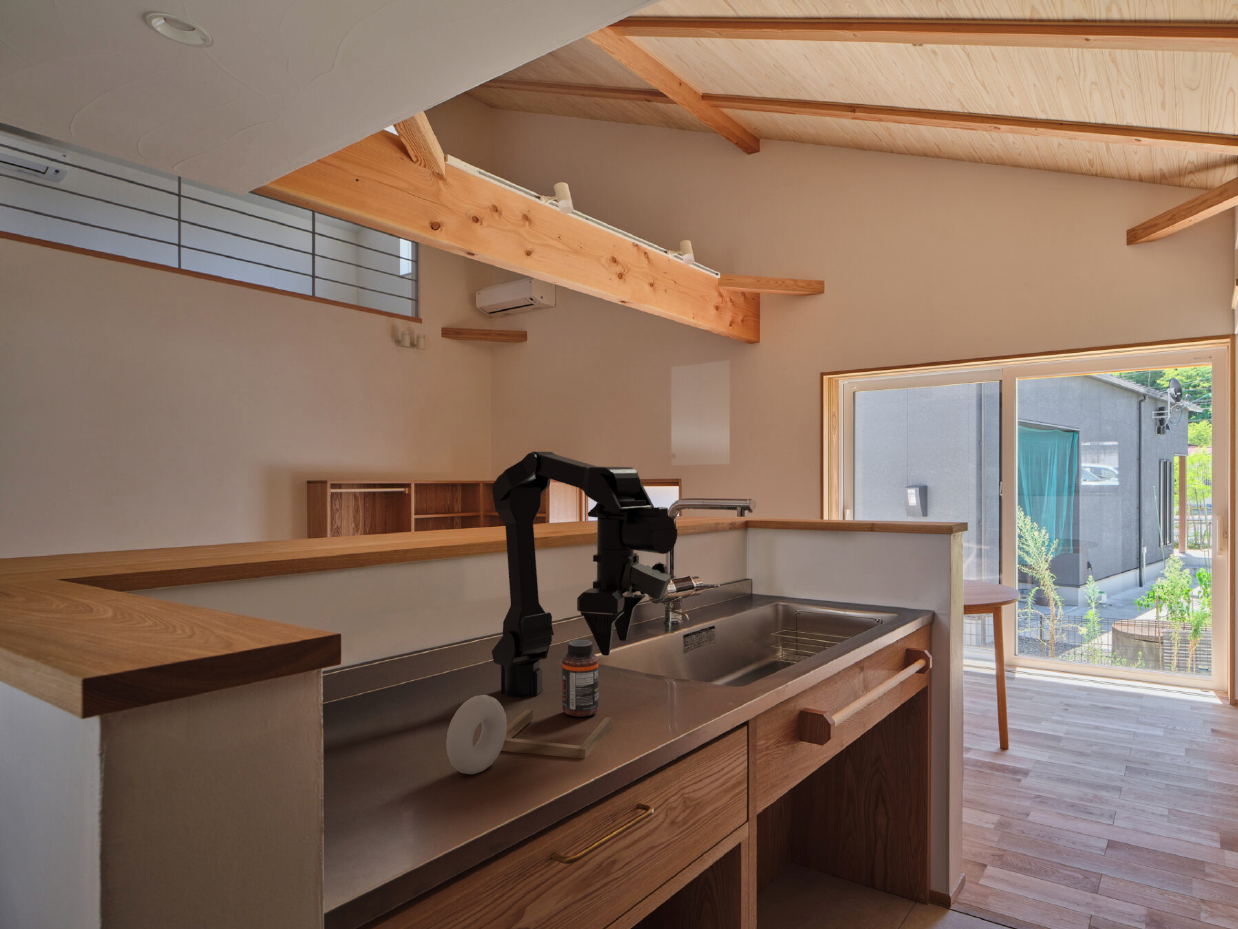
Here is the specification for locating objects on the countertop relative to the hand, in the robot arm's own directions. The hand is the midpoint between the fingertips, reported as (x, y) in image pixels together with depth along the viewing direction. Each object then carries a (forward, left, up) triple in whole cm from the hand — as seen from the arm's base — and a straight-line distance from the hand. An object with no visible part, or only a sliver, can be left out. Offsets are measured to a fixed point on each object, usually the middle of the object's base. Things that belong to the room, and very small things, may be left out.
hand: (614, 647), depth 115 cm
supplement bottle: (-7, +4, -12) cm, 14 cm away
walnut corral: (-7, -8, -12) cm, 16 cm away
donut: (-12, -22, -12) cm, 28 cm away
